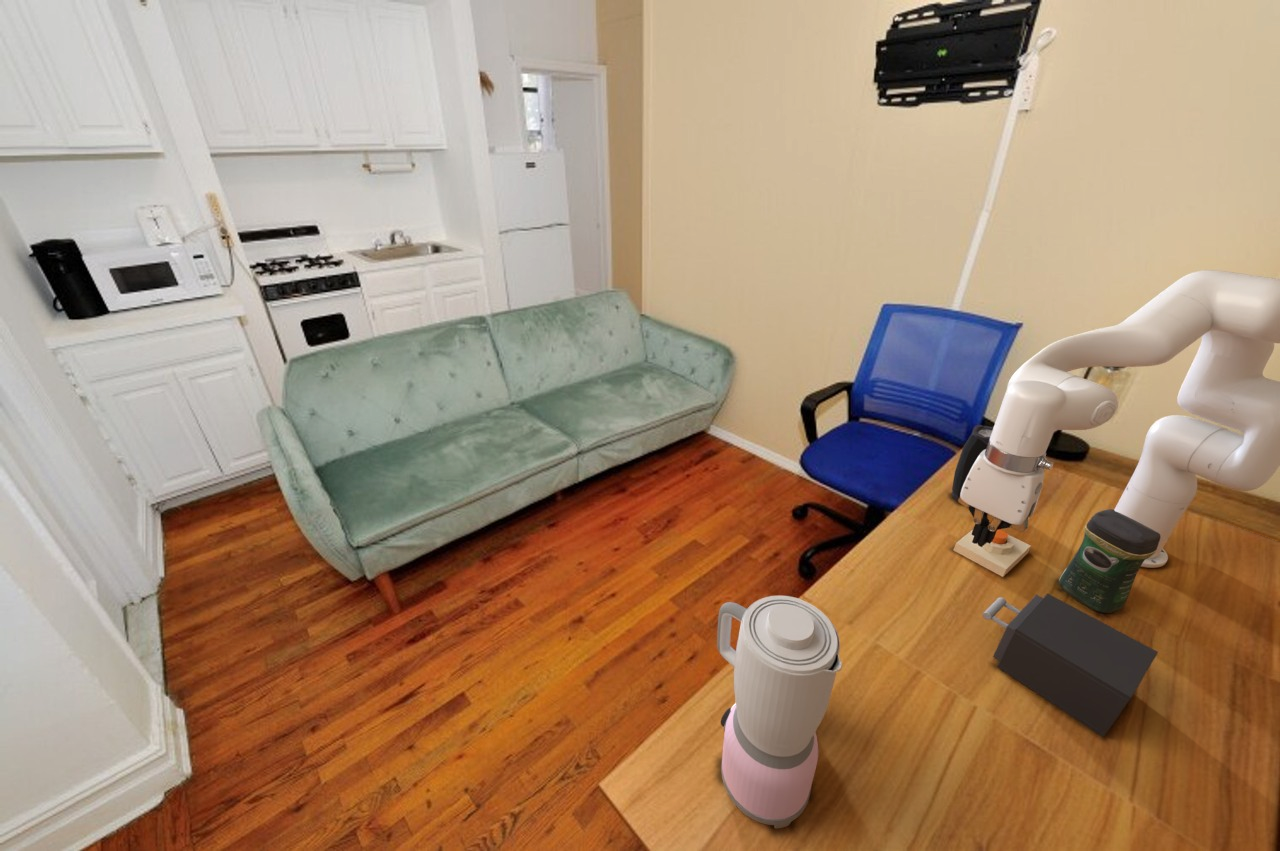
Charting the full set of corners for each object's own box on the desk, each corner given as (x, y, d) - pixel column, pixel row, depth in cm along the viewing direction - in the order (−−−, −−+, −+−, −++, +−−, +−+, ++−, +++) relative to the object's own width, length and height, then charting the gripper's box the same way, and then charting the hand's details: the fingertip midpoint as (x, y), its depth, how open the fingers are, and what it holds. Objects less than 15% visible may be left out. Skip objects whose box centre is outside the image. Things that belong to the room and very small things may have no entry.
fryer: (997, 667, 86) (1015, 628, 81) (1028, 630, 92) (1047, 593, 88) (1103, 737, 75) (1131, 697, 71) (1130, 691, 82) (1158, 651, 77)
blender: (826, 780, 71) (870, 622, 56) (779, 854, 64) (816, 696, 48) (734, 704, 81) (751, 553, 66) (685, 761, 74) (691, 605, 58)
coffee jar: (1129, 608, 96) (1176, 533, 88) (1100, 619, 94) (1145, 543, 85) (1076, 573, 104) (1114, 501, 96) (1049, 583, 102) (1085, 510, 94)
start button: (990, 531, 111) (992, 525, 110) (1008, 540, 109) (1011, 534, 108) (982, 538, 109) (985, 531, 108) (1000, 547, 107) (1003, 540, 106)
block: (979, 529, 117) (984, 515, 115) (1027, 553, 110) (1034, 539, 108) (953, 550, 111) (958, 536, 109) (1002, 577, 104) (1009, 562, 102)
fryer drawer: (967, 640, 90) (980, 609, 86) (996, 610, 96) (1009, 579, 92) (1088, 719, 77) (1109, 687, 73) (1113, 679, 83) (1135, 647, 79)
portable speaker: (940, 490, 131) (961, 424, 122) (975, 488, 131) (998, 422, 122) (961, 511, 123) (986, 441, 114) (998, 508, 124) (1025, 439, 115)
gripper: (1077, 467, 79) (1036, 556, 87) (975, 431, 89) (948, 513, 98) (1057, 484, 75) (1017, 575, 84) (954, 444, 86) (928, 528, 94)
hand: (980, 541), depth 91 cm, fingers closed
